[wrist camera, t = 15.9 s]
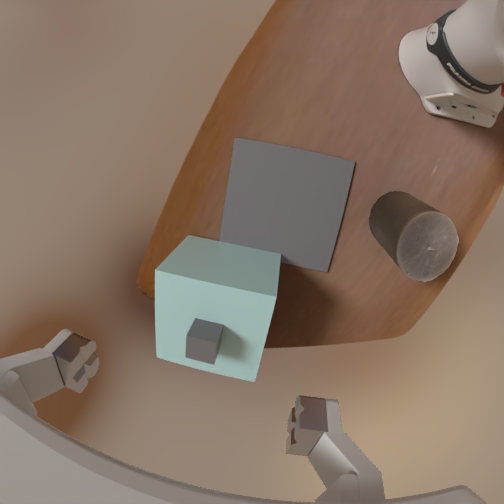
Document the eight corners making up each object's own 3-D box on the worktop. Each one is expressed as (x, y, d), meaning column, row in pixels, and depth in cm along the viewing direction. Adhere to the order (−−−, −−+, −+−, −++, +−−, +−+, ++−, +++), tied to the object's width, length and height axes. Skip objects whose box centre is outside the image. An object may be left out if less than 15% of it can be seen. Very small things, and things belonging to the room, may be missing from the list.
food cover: (281, 253, 49) (274, 314, 32) (263, 329, 55) (251, 400, 39) (188, 235, 50) (141, 283, 33) (183, 311, 56) (147, 373, 40)
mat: (354, 162, 43) (355, 162, 42) (326, 271, 50) (327, 272, 49) (235, 137, 44) (235, 137, 43) (218, 249, 51) (217, 249, 50)
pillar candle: (362, 201, 45) (391, 228, 31) (413, 183, 42) (458, 203, 28) (376, 254, 47) (405, 297, 34) (424, 236, 45) (466, 272, 31)
